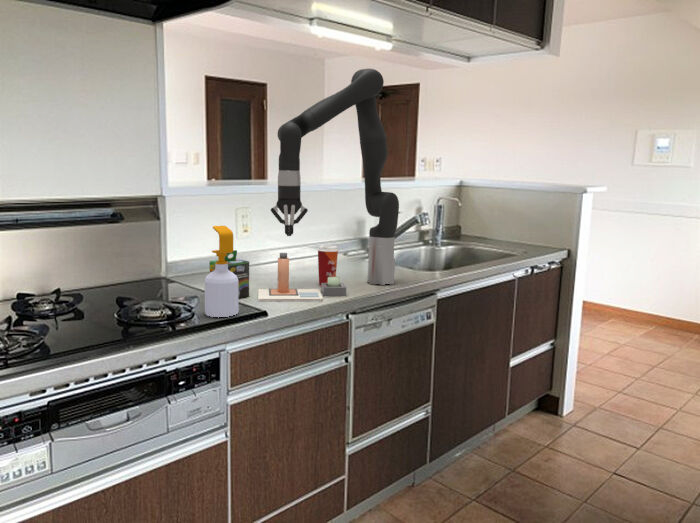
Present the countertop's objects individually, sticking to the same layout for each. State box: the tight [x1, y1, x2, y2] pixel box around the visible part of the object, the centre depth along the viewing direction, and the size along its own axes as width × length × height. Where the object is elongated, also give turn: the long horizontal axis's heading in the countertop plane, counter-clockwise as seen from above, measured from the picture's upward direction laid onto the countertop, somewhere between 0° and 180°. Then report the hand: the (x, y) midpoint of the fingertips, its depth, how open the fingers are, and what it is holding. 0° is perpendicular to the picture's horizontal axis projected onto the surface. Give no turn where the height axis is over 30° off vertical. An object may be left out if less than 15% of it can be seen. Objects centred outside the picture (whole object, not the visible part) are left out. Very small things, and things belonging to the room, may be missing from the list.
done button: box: [328, 276, 341, 287], centre depth 188 cm, size 4×4×4 cm
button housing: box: [320, 282, 347, 297], centre depth 189 cm, size 7×7×3 cm
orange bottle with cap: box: [277, 252, 290, 293], centre depth 184 cm, size 4×4×13 cm
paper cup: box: [316, 244, 340, 285], centre depth 201 cm, size 8×8×14 cm
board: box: [257, 288, 324, 302], centre depth 184 cm, size 20×14×1 cm
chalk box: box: [209, 249, 250, 299], centre depth 180 cm, size 9×9×15 cm
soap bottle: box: [204, 225, 239, 319], centre depth 157 cm, size 9×9×25 cm
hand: (289, 235), depth 193 cm, fingers closed
